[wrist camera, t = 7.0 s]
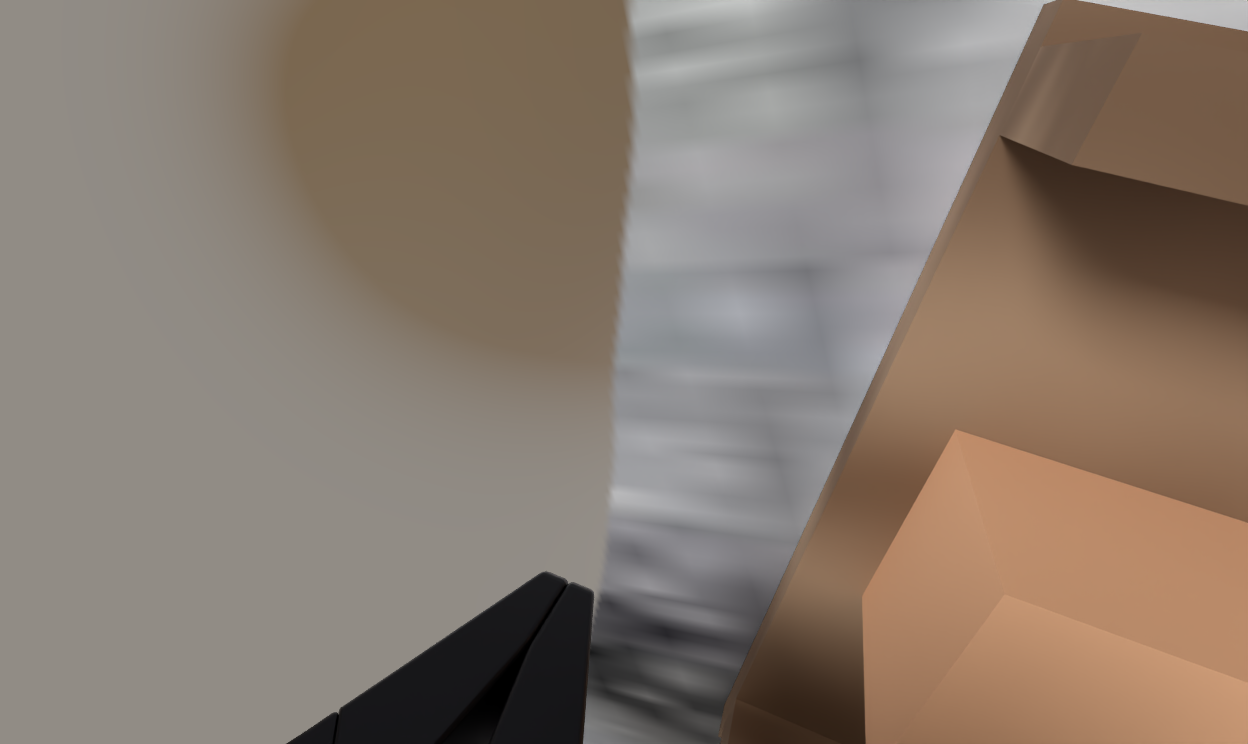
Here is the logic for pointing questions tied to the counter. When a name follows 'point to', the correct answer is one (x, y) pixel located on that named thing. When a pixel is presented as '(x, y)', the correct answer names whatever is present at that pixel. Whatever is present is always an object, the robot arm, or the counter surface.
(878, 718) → the peach rectangular block
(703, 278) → the counter surface
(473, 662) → the robot arm
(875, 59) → the counter surface
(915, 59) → the counter surface
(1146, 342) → the brown wooden tray
